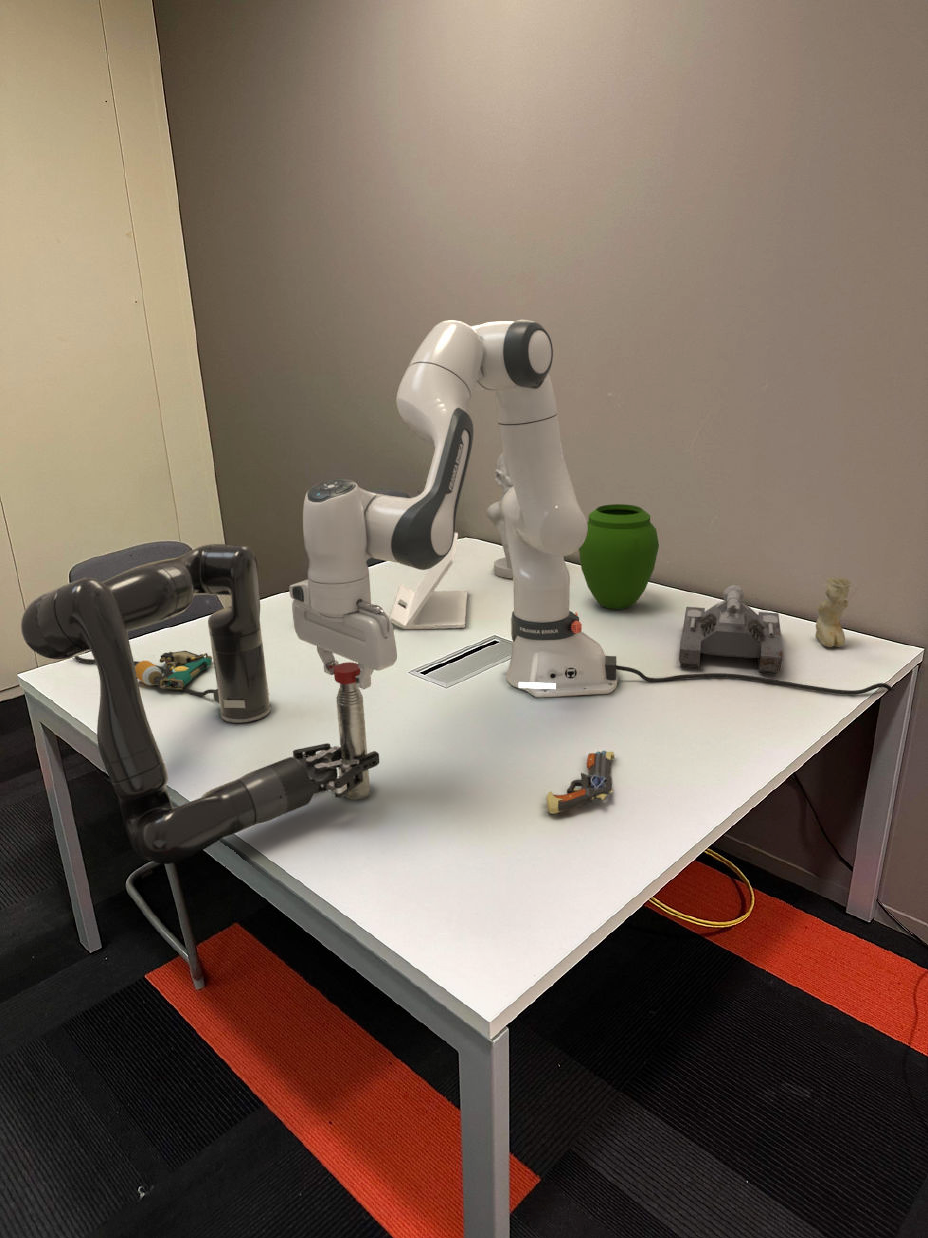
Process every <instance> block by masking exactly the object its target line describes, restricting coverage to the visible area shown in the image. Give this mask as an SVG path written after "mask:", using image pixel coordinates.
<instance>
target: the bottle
mask: <svg viewBox="0 0 928 1238" xmlns="http://www.w3.org/2000/svg"><path fill="white" fill-rule="evenodd" d="M364 706H365V705H364V697H363V694H362V692H361V689H360V687H357V686H356V682H355V683H352V684H340V683H339V688H338V691H337V695H336V712H337V722H338V723H337V724H338V733H339V745H340V746H339V747H341V757H342V761H343V762H346V761H350V760H354V759H356V758H358V757H361V756H363V755H366V754H368V745H367V733H366V721H365V708H364ZM350 769H352V767H349V768H346V772H348V771H349V770H350ZM369 770H370V769H368V770H366V771H363V782H362V783H360V784H359V785H358V786H356V787H355V788H354V789H352V790H351V791H350V792H348V793H347V794H346V795H344V797H346V798H347V799H348V800H354V801H355V800H356V801H357V800H358V801H359V800H363V799H365V798H367V797H369V795H370V793H371V786H370V785H371V784H370V783H371V782H370V771H369ZM354 778H355V777H354Z"/></svg>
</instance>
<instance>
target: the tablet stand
mask: <svg viewBox="0 0 928 1238" xmlns="http://www.w3.org/2000/svg"><path fill="white" fill-rule="evenodd" d="M458 537H459V533H458V532H456V531H455V532H454V540H453V544H452V547H451V549H450V551H449V553H448V554H447V555H446V557H445V558H444V559H443V560H441V561H440V562H439V563H438V564H436V565H435V566H433V567H432V568H430V569H428V571H427V573H426V574H425V575H424V577H423V579H422V580H421V581H420V583H419V584H418V585H417V587H416V589H415V590H412V589H410V588H409V587H407V586H406V585H403V584H400V585H399V586H398V589H397V591H396V595H395V598H394V601H393V604H392V607H391V610H390V612H389V613H390V614H389V616H388V617H389V619H390V621H391V624H394V625H396V626H398V627H399V628H401V629H402V630H426V629H427V630H429V629H430V630H431V629H435V630H436V629H437V630H438V629H464V628H465V627H466V618H467V617H466V616H467V605H468V591H467V590H436V589H437V587H438V585H440V582H441V581H442V580H443V578H444V577H445V575H446V574H447V573H448V571H449V570H450V569H451V567H452V566H453V564H454V562H455V558H456V553H457V545H458ZM399 603H400V604H399ZM402 605H403V606H405V607H403V606H402Z"/></svg>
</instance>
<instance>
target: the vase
mask: <svg viewBox="0 0 928 1238" xmlns="http://www.w3.org/2000/svg"><path fill="white" fill-rule="evenodd" d="M587 516H588V517H587V518H588V521H587V525H588V531H587V536H586V539H585V541H584V543H583V544H582V546H581V547H580V548H579V549H578V554H579V562H580V569H581V571H582V574H583V577H584V580H585V583H586V585H587V588H588V590H589V591H590V594H592V597H593V598H594V600H595V601H596V602H597V603H598V604H599V605H600V606H602V607H604V608H606V609H609V610H625V609H628V608H630V607H632V606H634V604H636V602H638V601H639V599H640V597H641V596H642V595H643V593H644V592H645V590H646V588H647V586H648V584H649V581H650V579H651V577H652V574H653V572H654V570H655V566H656V562H657V557H658V552H659V548H660V544H659V543H660V542H659V537H658V531H657V528H656V527H655V526H654V524H653V523H652V522H651V515H650V514H649V512H647V511H645V510H644V509H643V508H642V507H641V506H638V505H633V504H622V503H621V504H619V503H616V504H615V503H614V504H604V505H601V506H598V507H597V508H595V509H594V510H592V511H591V512H590V513H589V514H588V515H587Z"/></svg>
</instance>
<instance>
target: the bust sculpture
mask: <svg viewBox="0 0 928 1238" xmlns="http://www.w3.org/2000/svg"><path fill="white" fill-rule="evenodd" d="M494 480H495V482H496V484H497V486H498V487H501V488H502V494H501V497H500V499H499V501H496V502H494V503H492V504H491V505H490V506H488V508H487V509H486V513H485V514H486V517H487V518H488V519H489V520H490V522H491V523H492V524H493V526H494V527H495V529H496V532H497V534H498V537H499V540H500V542H501V546H502V548H503V553H504V557H502V558H498V559H496V560H495V561H494V562H493V573H494V574H495V575H496V576H497V577H500V578H506V579H513V571H512V565H511V559H510V554H509V549H508V542H507V536H506V529H505V524H504V521H503V518H502V515H501V510H500V507H501V501H502V499H503V497H504V495H505V494H506V492H507V491H508V490H509V489H511V488H512V487H514V486H513V483H512V481H511V478H510V475H509V473H508V471H507V469H506V467H505V464H504V458H503V452H501V454H500V455H499V457H498V459H497V461H496V468H495V471H494Z"/></svg>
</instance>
